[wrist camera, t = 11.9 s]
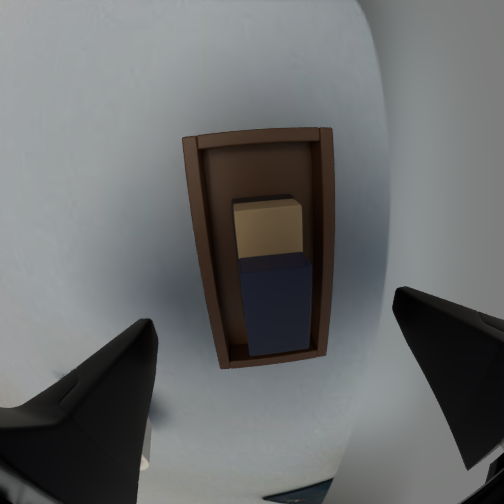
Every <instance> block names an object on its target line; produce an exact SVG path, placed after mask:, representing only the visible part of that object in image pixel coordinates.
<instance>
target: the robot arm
mask: <svg viewBox="0 0 504 504" xmlns="http://www.w3.org/2000/svg"><path fill="white" fill-rule="evenodd" d="M392 310H393V313H394V315H395V318H396V320H397V322H398V324H399V326H400V329H401V331H402V333H403V335H404V337H405V340H406V342H407V344H408V346H409V347H410V349H411V351H412V353H413V354H414V356H415V358H416V360H417V362H418V364H419V366H420V367H421V369H422V371H423V373H424V375H425V377H426V379H427V381H428V382H429V385H430V387H431V389H432V391H433V393H434V395H435V397H436V399H437V401H438V403H439V405H440V407H441V409H442V411H443V413H444V416H445V418H446V420H447V422H448V425H449V426H450V429H451V432H452V434H453V436H454V439H455V441H456V444H457V446H458V449H459V451H460V454H461V456H462V459H463V462H464V464H465V467H466V469H467V470H470V469H471V468H472V467H474V466H475V465H476V464H478V463H479V462H480V461H482V460H483V459H484V458H486V457H487V456H488V455H489V454H491V453H492V452H493V451H494V450H496V449H497V448H498V447H499V446H500V445H501V447H502V448H503V450H504V320H502V319H499V318H496V317H493V316H490V315H487V314H484V313H481V312H477V311H476V310H473V309H470V308H467V307H464V306H462V305H459V304H456V303H453V302H450V301H447V300H445V299H442V298H439V297H436V296H433V295H430V294H427V293H424V292H421V291H418V290H415V289H413V288H409V287H407V286H404V287H399V288H397V289H396V291H395V296H394V301H393V306H392ZM157 353H158V336H157V333H156V330H155V327H154V324H153V321H152V320H151V319H150V318H146V319H139V320H138V321H137V322H135V323H134V324H133V325H131V326H130V327H129V328H127V329H126V330H125V331H123V332H122V333H121V334H119V335H118V336H117V337H115V338H114V339H113V340H111V341H110V342H109V343H108V344H106V345H105V346H104V347H102V348H101V349H100V350H98V351H97V352H96V353H94V354H93V355H92V356H91V357H89V358H88V359H87V360H85V361H84V362H83V363H81V364H80V365H79V366H78V367H77V368H76V369H74V370H72V371H71V372H70V373H69V374H67V375H66V376H65V377H63V378H62V379H60V380H59V381H58V382H56V383H55V384H53V385H52V386H50V387H49V388H47V389H46V390H44V391H43V392H41V393H40V394H38V395H37V396H35V397H34V398H32V399H31V400H29V401H27V402H26V403H24V404H22V405H20V406H18V407H14V408H2V407H0V504H136V503H137V492H138V481H139V473H140V465H141V458H142V451H143V444H144V437H145V431H146V425H147V419H148V413H149V408H150V402H151V397H152V392H153V387H154V382H155V375H156V363H157ZM458 504H504V453H503V454H502V455H500V457H498V458H497V459H496V460H495V461H494V462H493V463H491V464H490V467H489V471H488V475H487V479H486V482H485V484H484V485H483V486H482V487H480V488H479V489H478V490H476V491H475V492H474V493H472V494H471V495H470V496H468V497H467V498H466V499H464V500H462V501H461V502H460V503H458Z"/></svg>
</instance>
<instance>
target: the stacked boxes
mask: <svg viewBox="0 0 504 504" xmlns="http://www.w3.org/2000/svg"><path fill="white" fill-rule="evenodd" d="M231 209H232V218H233V228H234V237H235V246H236V255H237V264H238V273H239V281H240V290H241V299H242V307H243V315H244V320H245V322H246V330H247V339H248V347H249V354H250V356H255V355H264V354H272V353H280V352H287V351H294V350H300V349H306V348H309V340H310V320H311V292H312V266H311V264H310V263H309V261H308V260H307V258H306V256H305V255H304V253H303V233H302V206H301V205H300V204H299V203H298V202H297V201H296V199H295V198H294V197H293V196H292V195H291V194H280V195H268V196H257V197H246V198H236V199H231Z"/></svg>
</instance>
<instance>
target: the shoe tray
mask: <svg viewBox="0 0 504 504" xmlns="http://www.w3.org/2000/svg"><path fill="white" fill-rule="evenodd" d="M182 144H183V153H184V162H185V171H186V179H187V187H188V194H189V202H190V209H191V216H192V223H193V229H194V236H195V242H196V248H197V254H198V260H199V266H200V272H201V277H202V283H203V288H204V293H205V299H206V304H207V309H208V314H209V319H210V324H211V329H212V333H213V338H214V343H215V347H216V352H217V356H218V361H219V365H220V369H230V368H243V367H253V366H262V365H270V364H277V363H285V362H291V361H298V360H304V359H310V358H316V357H320V356H325V355H326V352H327V344H328V334H329V324H330V313H331V301H332V287H333V269H334V244H335V172H334V148H333V131H332V128H327V127H320V128H318V127H298V128H270V129H253V130H241V131H230V132H220V133H212V134H204V135H198V136H189V137H183V138H182ZM280 194H291V195H292V196H293V197H294V198H295V199H296V201H297V202H298V203H299V204H300V205H301V206H302V233H303V253H304V255H305V256H306V258H307V260H308V261H309V263H310V264H311V266H312V292H311V320H310V340H309V348H306V349H300V350H294V351H287V352H280V353H272V354H264V355H255V356H250V354H249V347H248V339H247V330H246V322H245V320H244V315H243V307H242V299H241V290H240V281H239V273H238V264H237V255H236V246H235V237H234V228H233V218H232V209H231V199H236V198H246V197H257V196H268V195H280Z"/></svg>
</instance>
